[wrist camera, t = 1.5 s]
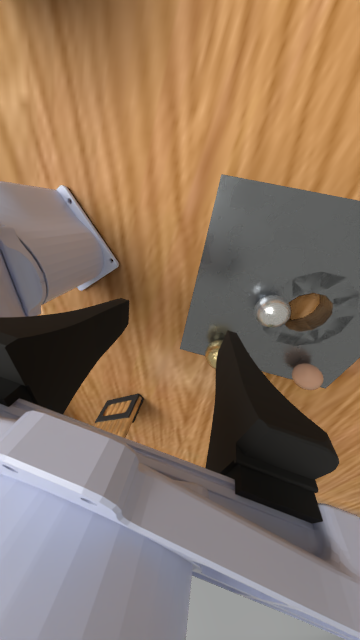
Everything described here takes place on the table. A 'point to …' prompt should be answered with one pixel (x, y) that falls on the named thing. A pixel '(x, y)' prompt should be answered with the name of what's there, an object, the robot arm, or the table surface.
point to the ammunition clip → (119, 414)
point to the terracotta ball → (307, 376)
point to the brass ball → (212, 352)
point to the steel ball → (272, 311)
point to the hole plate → (280, 276)
